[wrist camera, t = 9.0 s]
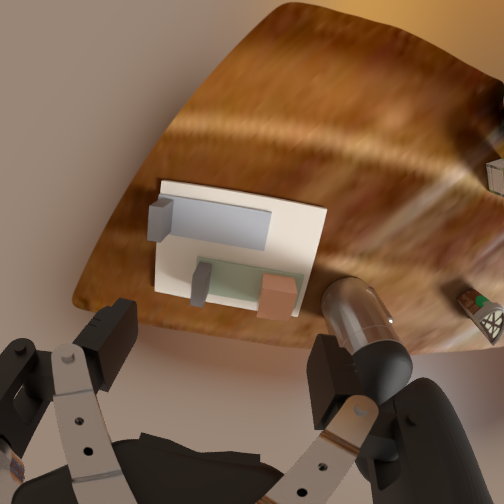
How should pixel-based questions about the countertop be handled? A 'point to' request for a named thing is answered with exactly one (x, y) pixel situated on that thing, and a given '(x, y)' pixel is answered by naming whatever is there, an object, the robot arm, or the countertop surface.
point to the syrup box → (496, 176)
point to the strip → (208, 222)
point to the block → (276, 297)
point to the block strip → (231, 280)
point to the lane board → (273, 257)
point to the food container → (483, 314)
